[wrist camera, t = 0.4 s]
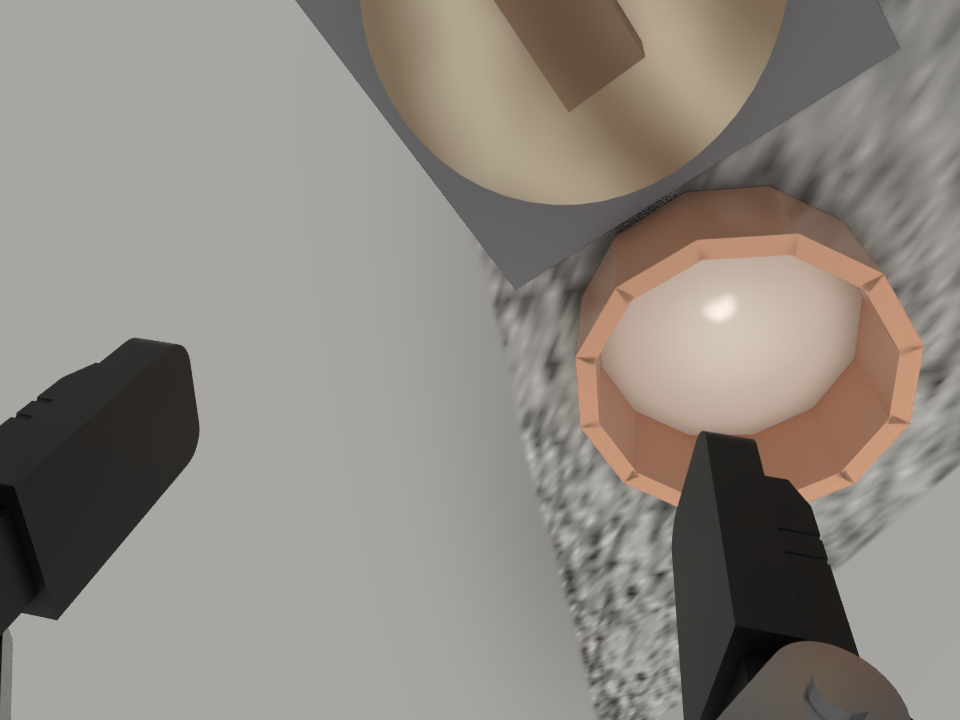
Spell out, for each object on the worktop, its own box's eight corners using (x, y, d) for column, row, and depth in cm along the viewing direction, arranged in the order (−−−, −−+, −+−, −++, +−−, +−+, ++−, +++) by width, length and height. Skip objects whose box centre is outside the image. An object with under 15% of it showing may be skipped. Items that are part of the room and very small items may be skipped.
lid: (635, -407, 23) (639, -503, 18) (862, 42, 28) (913, 64, 23) (288, -50, 29) (221, -48, 24) (520, 262, 34) (503, 315, 29)
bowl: (788, 127, 30) (824, 165, 25) (920, 361, 34) (974, 436, 29) (531, 287, 35) (516, 345, 30) (671, 473, 39) (678, 553, 34)
